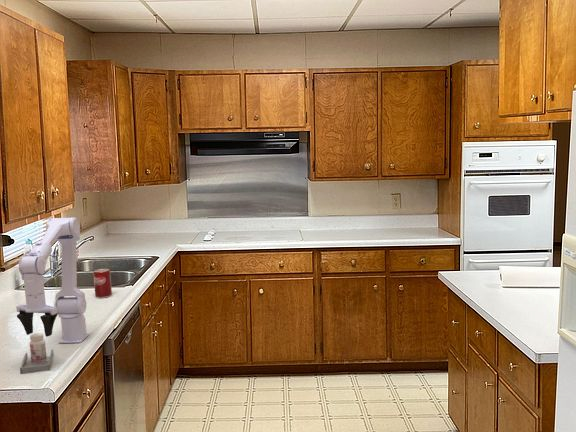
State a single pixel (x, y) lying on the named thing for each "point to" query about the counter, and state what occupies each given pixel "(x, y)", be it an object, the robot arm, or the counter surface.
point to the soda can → (102, 283)
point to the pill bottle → (37, 347)
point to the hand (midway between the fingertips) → (39, 334)
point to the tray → (35, 365)
